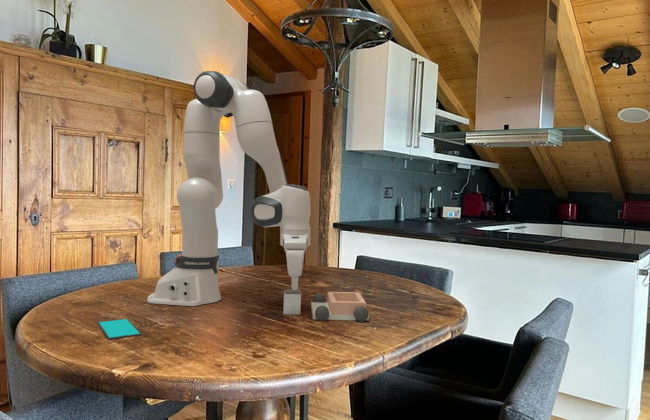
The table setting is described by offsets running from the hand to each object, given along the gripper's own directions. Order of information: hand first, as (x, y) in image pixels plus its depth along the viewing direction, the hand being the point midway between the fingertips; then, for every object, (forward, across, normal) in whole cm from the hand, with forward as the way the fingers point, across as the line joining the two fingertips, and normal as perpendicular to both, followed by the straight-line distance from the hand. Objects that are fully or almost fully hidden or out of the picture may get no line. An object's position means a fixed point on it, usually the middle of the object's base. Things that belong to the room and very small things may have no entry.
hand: (294, 285), depth 137 cm
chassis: (+8, 0, +13) cm, 16 cm away
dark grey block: (+8, 0, -1) cm, 8 cm away
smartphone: (+8, +19, -44) cm, 48 cm away
